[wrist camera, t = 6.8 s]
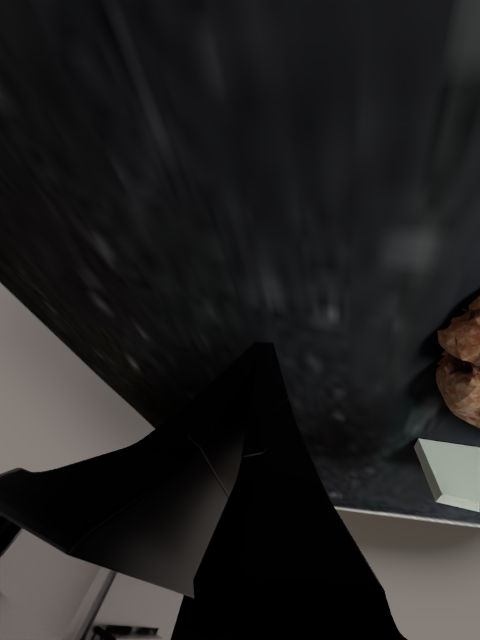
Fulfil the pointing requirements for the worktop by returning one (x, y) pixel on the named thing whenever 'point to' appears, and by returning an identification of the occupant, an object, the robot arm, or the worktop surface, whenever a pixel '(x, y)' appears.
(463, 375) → the cookie
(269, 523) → the robot arm
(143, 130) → the worktop surface
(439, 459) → the box
